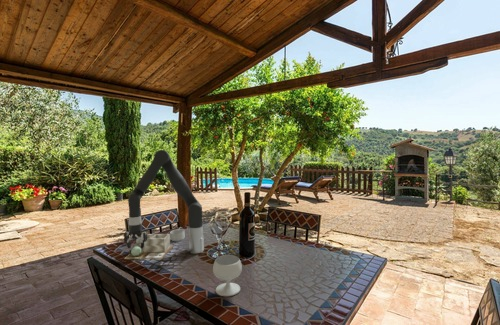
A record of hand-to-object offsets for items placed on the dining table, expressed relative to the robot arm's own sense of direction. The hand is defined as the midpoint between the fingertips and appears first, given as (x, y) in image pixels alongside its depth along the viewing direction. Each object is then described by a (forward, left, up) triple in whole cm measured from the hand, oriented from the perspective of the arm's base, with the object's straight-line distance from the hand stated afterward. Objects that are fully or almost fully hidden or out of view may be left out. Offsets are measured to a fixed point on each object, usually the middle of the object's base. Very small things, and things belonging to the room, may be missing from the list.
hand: (135, 247), depth 161 cm
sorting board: (-7, -7, -7) cm, 12 cm away
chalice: (-65, +38, -7) cm, 75 cm away
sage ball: (0, 0, -5) cm, 5 cm away
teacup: (-17, -33, -7) cm, 38 cm away
